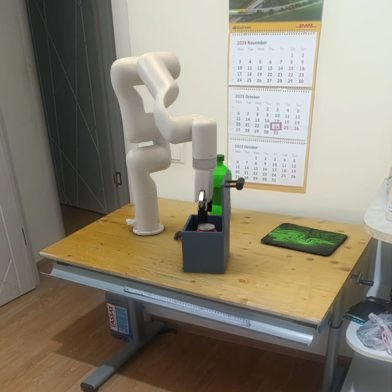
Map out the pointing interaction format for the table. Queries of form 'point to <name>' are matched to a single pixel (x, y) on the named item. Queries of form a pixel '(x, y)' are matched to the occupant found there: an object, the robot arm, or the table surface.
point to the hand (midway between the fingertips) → (205, 216)
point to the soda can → (206, 228)
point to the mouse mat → (305, 239)
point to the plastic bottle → (218, 185)
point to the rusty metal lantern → (178, 235)
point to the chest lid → (228, 196)
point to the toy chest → (205, 246)
